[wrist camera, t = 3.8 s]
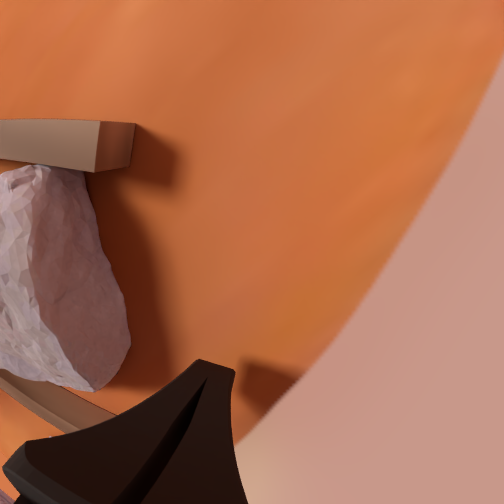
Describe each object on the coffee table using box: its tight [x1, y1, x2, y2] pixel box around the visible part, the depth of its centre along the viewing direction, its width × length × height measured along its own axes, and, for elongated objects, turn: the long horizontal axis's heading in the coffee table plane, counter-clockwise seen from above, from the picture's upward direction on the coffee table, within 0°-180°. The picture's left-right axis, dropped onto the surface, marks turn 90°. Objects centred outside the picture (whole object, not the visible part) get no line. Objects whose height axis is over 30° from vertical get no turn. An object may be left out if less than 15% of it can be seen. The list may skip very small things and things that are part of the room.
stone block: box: [0, 164, 131, 392], centre depth 12 cm, size 12×5×10 cm
